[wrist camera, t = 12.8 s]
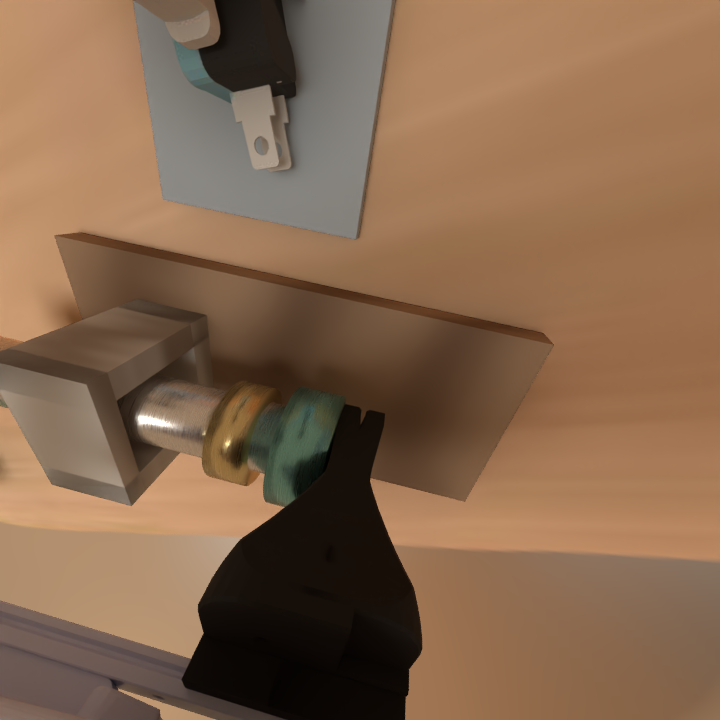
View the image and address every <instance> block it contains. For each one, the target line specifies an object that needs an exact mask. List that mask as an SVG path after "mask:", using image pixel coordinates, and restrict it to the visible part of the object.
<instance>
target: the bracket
mask: <svg viewBox="0 0 720 720" xmlns="http://www.w3.org/2000/svg"><path fill="white" fill-rule="evenodd" d="M54 236H55V239H56V242H57V245H58V248H59V251H60V254H61V257H62V260H63V263H64V266H65V269H66V272H67V275H68V278H69V281H70V284H71V287H72V290H73V293H74V296H75V299H76V302H77V305H78V308H79V311H80V314H81V317H82V320H81V321H79V322H76V323H73V324H71V325H68V326H65V327H63V328H60V329H57V330H55V331H52V332H49V333H47V334H44V335H42V336H39V337H36V338H34V339H31V340H28V341H26V342H23V343H20V344H18V345H15V346H12V347H10V348H7V349H5V350H2V351H0V393H1V395H2V397H3V399H4V400H5V402H6V404H7V406H8V407H9V409H10V411H11V413H12V415H13V416H14V418H15V420H16V422H17V423H18V425H19V427H20V429H21V431H22V432H23V434H24V436H25V438H26V439H27V441H28V443H29V445H30V447H31V448H32V450H33V452H34V454H35V456H36V457H37V459H38V461H39V463H40V464H41V466H42V468H43V470H44V472H45V473H46V475H47V477H48V479H49V480H50V482H51V484H52V485H55V486H59V487H63V488H67V489H70V490H74V491H78V492H81V493H85V494H89V495H93V496H96V497H100V498H104V499H107V500H111V501H115V502H119V503H122V504H126V505H130V506H132V505H133V504H134V503H135V502H136V500H137V499H138V498H139V497H140V496H141V495H142V494H143V493H144V492H145V491H146V489H147V488H148V487H149V486H150V485H151V484H152V483H153V482H154V481H155V480H156V478H157V477H158V476H159V475H160V474H161V473H162V472H163V471H164V470H165V469H166V467H167V466H168V465H169V464H170V463H171V462H172V461H173V460H174V459H175V458H176V456H177V455H178V454H179V453H180V452H177V451H173V450H170V449H166V448H162V447H158V446H154V445H150V444H146V443H142V442H138V441H134V440H131V439H128V436H127V433H126V429H125V426H124V423H123V420H122V417H121V414H120V411H119V407H118V404H117V400H118V399H120V398H121V397H123V396H124V395H126V394H127V393H128V392H130V391H131V390H133V389H134V388H136V387H137V386H139V385H140V384H141V383H143V382H144V381H146V380H147V379H149V378H150V377H152V376H153V375H154V374H159V375H163V376H167V377H171V378H175V379H180V380H184V381H188V382H192V383H196V384H200V385H204V386H208V387H213V388H217V389H221V390H225V391H228V390H229V389H230V388H231V387H232V386H233V385H235V384H236V383H238V382H241V381H247V382H251V383H255V384H260V385H264V386H268V387H272V388H276V389H279V390H280V392H281V395H282V404H283V405H287V403H288V401H289V400H290V398H291V396H292V395H293V393H294V392H295V391H296V389H298V388H299V387H300V386H304V387H308V388H312V389H317V390H321V391H325V392H329V393H333V394H338V395H342V396H346V404H348V405H352V406H357V407H360V409H361V410H362V411H361V423H362V421H363V419H364V417H365V414H366V411H368V410H373V411H377V412H382V413H385V421H384V428H383V431H382V435H381V438H380V442H379V446H378V449H377V453H376V457H375V460H374V464H373V467H372V472H371V477H370V478H373V479H377V480H381V481H385V482H389V483H393V484H397V485H401V486H405V487H409V488H413V489H417V490H421V491H425V492H429V493H433V494H437V495H441V496H445V497H449V498H453V499H457V500H461V501H464V502H465V501H466V499H467V497H468V495H469V494H470V492H471V490H472V488H473V487H474V485H475V483H476V481H477V479H478V478H479V476H480V474H481V472H482V471H483V469H484V467H485V465H486V464H487V462H488V460H489V458H490V457H491V455H492V453H493V451H494V450H495V448H496V446H497V444H498V443H499V441H500V439H501V437H502V435H503V434H504V432H505V430H506V428H507V427H508V425H509V423H510V421H511V420H512V418H513V416H514V414H515V413H516V411H517V409H518V407H519V406H520V404H521V402H522V400H523V399H524V397H525V395H526V393H527V391H528V390H529V388H530V386H531V384H532V383H533V381H534V379H535V377H536V376H537V374H538V372H539V370H540V369H541V367H542V365H543V363H544V362H545V360H546V358H547V356H548V355H549V353H550V351H551V349H552V348H553V346H554V344H553V343H552V342H551V341H550V340H549V339H548V338H547V337H546V336H545V335H544V334H543V333H539V332H535V331H530V330H526V329H521V328H516V327H512V326H507V325H503V324H498V323H493V322H489V321H484V320H480V319H475V318H470V317H466V316H461V315H457V314H452V313H447V312H443V311H438V310H434V309H429V308H424V307H420V306H415V305H411V304H406V303H401V302H397V301H392V300H388V299H383V298H378V297H374V296H369V295H365V294H360V293H355V292H351V291H346V290H342V289H337V288H332V287H328V286H323V285H319V284H314V283H309V282H305V281H300V280H296V279H291V278H286V277H282V276H277V275H273V274H268V273H263V272H259V271H254V270H250V269H245V268H240V267H236V266H231V265H227V264H222V263H217V262H213V261H208V260H204V259H199V258H194V257H190V256H185V255H181V254H176V253H171V252H167V251H162V250H158V249H153V248H148V247H144V246H139V245H135V244H130V243H125V242H121V241H116V240H112V239H107V238H102V237H98V236H93V235H89V234H84V233H72V234H63V235H54Z"/></svg>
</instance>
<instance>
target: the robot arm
mask: <svg viewBox="0 0 720 720" xmlns="http://www.w3.org/2000/svg"><path fill="white" fill-rule="evenodd" d="M361 411H362V410H361V409H360V407H357V406H352V405H348V404H345V405H344V408H343V410H342V412H341V415H340V418H339V420H338V423H337V428H336V433H335V437H334V442H333V446H332V451H331V455H330V459H329V462H328V465H327V468H326V470H325V472H324V473H323V474H322V475H321V476H320V477H319V478H318V479H317V480H316V481H315V482H313V483H312V484H311V485H310V486H309V487H308V488H307V489H306V490H305V491H304V492H303V493H302V494H300V495H299V496H298V497H297V498H296V499H295V500H293V501H292V502H291V503H290V504H288V505H287V506H286V507H285V508H283V509H282V510H281V511H280V512H278V513H277V514H276V515H275V516H273V517H272V518H271V519H269V520H268V521H266V522H265V523H263V524H262V525H261V526H259V527H258V528H256V529H255V530H253V531H252V532H250V533H249V534H248V535H246V536H245V537H243V538H242V539H241V540H240V541H239V542H238V543H237V544H236V545H235V547H234V548H233V549H232V550H231V552H230V553H229V555H228V556H227V557H226V558H225V560H224V561H223V562H222V564H221V565H220V567H219V568H218V570H217V571H216V573H215V574H214V576H213V578H212V579H211V581H210V583H209V585H208V587H207V589H206V591H205V593H204V594H203V596H202V598H201V600H200V602H199V604H198V613H199V617H200V621H201V624H202V629H203V632H204V634H203V636H202V638H201V640H200V642H199V644H198V646H197V648H196V650H195V652H194V654H193V656H192V659H189V658H186V657H183V656H180V655H176V654H173V653H170V652H167V651H163V650H160V649H157V648H154V647H150V646H147V645H144V644H140V643H137V642H134V641H130V640H127V639H124V638H121V637H117V636H114V635H111V634H108V633H105V632H101V631H98V630H95V629H92V628H88V627H85V626H81V625H78V624H75V623H72V622H69V621H65V620H62V619H59V618H56V617H52V616H49V615H46V614H42V613H39V612H36V611H33V610H29V609H26V608H23V607H19V606H16V605H13V604H10V603H7V602H3V601H0V720H162V718H161V717H160V710H159V709H157V708H155V707H153V706H151V705H148V704H146V703H144V702H142V701H140V700H137V699H135V698H133V697H131V696H128V695H126V694H124V693H122V692H120V691H118V688H119V689H122V690H125V691H128V692H131V693H135V694H138V695H141V696H144V697H147V698H150V699H153V700H157V701H160V702H163V703H166V704H169V705H172V706H176V707H179V708H182V709H185V710H188V711H191V712H195V713H198V714H201V715H204V716H207V717H210V718H213V719H216V720H405V699H406V696H407V695H408V691H409V669H410V667H411V666H412V665H413V663H414V662H415V661H416V660H417V658H418V657H419V655H420V653H421V651H422V633H421V623H420V617H419V611H418V605H417V601H416V596H415V591H414V587H413V585H412V583H411V581H410V579H409V577H408V576H407V573H406V572H405V569H404V568H403V565H402V563H401V561H400V559H399V557H398V555H397V553H396V551H395V548H394V546H393V544H392V542H391V539H390V537H389V535H388V532H387V530H386V527H385V525H384V522H383V519H382V517H381V514H380V512H379V509H378V506H377V503H376V500H375V497H374V494H373V491H372V487H371V484H370V477H371V472H372V467H373V464H374V460H375V457H376V453H377V449H378V446H379V442H380V438H381V435H382V431H383V428H384V421H385V413H382V412H377V411H373V410H368V411H366V414H365V417H364V419H363V421H362V423H361Z"/></svg>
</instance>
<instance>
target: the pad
mask: <svg viewBox="0 0 720 720" xmlns="http://www.w3.org/2000/svg"><path fill="white" fill-rule="evenodd" d="M281 1H282V7H283V13H284V19H285V25H286V31H287V36H288V38H289V41H290V44H291V47H292V51H293V56H294V62H295V68H296V81H295V85H296V96H295V97H291V98H286V99H285V103H286V108H287V114H288V119H289V123H284V126H285V131H286V136H287V141H288V147H289V152H290V157H291V163H292V166H291V168H290V169H287V170H281V171H275V172H270V171H268V170H267V169H261V170H256V169H255V168H254V167H253V166H252V162H251V158H250V154H249V150H248V146H247V141H246V137H245V133H244V129H243V125H242V122H240V123H237V122H236V119H235V115H234V111H233V107H232V104H231V103H229V102H227V101H225V100H223V99H221V98H219V97H217V96H214V95H212V94H210V93H208V92H206V91H203V90H200V89H198V88H196V87H194V86H193V85H192V84H191V83H190V82H189V81H188V80H187V78H186V77H185V75H184V73H183V72H182V69H181V67H180V64H179V62H178V59H177V55H176V52H175V48H174V45H173V42H172V40H173V38H172V37H171V35H170V33H169V31H168V29H167V27H166V24H165V22H164V21H163V20H162V19H160V18H159V17H157V16H156V15H154V14H153V13H151V12H150V11H148V10H147V9H146V8H144V7H143V6H141V5H140V4H138V3H137V2H135V1H134V0H133V3H134V10H135V17H136V23H137V30H138V37H139V43H140V50H141V57H142V63H143V70H144V77H145V83H146V90H147V96H148V103H149V110H150V116H151V123H152V130H153V136H154V143H155V150H156V156H157V163H158V170H159V176H160V183H161V190H162V196H163V200H167V201H172V202H177V203H181V204H186V205H191V206H196V207H201V208H205V209H210V210H215V211H220V212H225V213H230V214H234V215H239V216H244V217H249V218H254V219H259V220H263V221H268V222H273V223H278V224H283V225H288V226H292V227H297V228H302V229H307V230H312V231H316V232H321V233H326V234H331V235H336V236H341V237H345V238H350V239H355V240H356V239H357V238H359V232H360V226H361V220H362V213H363V207H364V200H365V194H366V187H367V181H368V175H369V168H370V162H371V155H372V149H373V142H374V136H375V130H376V123H377V117H378V110H379V104H380V98H381V91H382V85H383V78H384V72H385V65H386V59H387V53H388V46H389V40H390V33H391V27H392V20H393V14H394V8H395V1H396V0H281ZM255 144H256V150H257V152H258V153H259V154H260V155H264V154H263V150H262V145H261V141H260V137H259V138H258V139H257V140H256V143H255ZM276 145H277V150H278V155H279V158H280V157H281V155H282V148H281V145H280V144H279V143H277V142H276Z"/></svg>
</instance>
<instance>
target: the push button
mask: <svg viewBox="0 0 720 720" xmlns="http://www.w3.org/2000/svg"><path fill="white" fill-rule="evenodd" d="M134 1H135V2H137V3H138V4H140V5H141V6H143V7H144V8H146V9H147V10H148V11H150V12H151V13H153V14H154V15H156V16H157V17H159V18H160V19H162V20H163V21H164V22H165V24H166V27H167V29H168V31H169V33H170V35H171V37H172V38H173V40H172V42H173V45H174V48H175V52H176V55H177V59H178V62H179V64H180V67H181V69H182V72H183V73H184V75H185V77H186V78H187V80H188V81H189V82H190V83H191V84H192V85H193V86H194V87H196V88H198V89H200V90H203V91H206V92H208V93H210V94H212V95H214V96H217V97H219V98H221V99H223V100H225V101H227V102H229V103H231V104H232V107H233V111H234V115H235V119H236V122H237V123H240V122H242V125H243V129H244V133H245V137H246V141H247V146H248V150H249V154H250V158H251V162H252V166H253V167H254V168H255V169H256V170H261V169H267V170H268V171H270V172H275V171H281V170H287V169H290V168H291V166H292V163H291V157H290V152H289V147H288V141H287V136H286V131H285V126H284V123H289V119H288V114H287V108H286V103H285V99H286V98H291V97H295V96H296V85H295V81H296V68H295V62H294V56H293V51H292V47H291V44H290V41H289V38H288V36H287V31H286V25H285V19H284V13H283V7H282V1H281V0H134ZM259 137H260V141H261V145H262V150H263V154H264V155H260V154H259V153H258V152H257V150H256V144H255V143H256V140H257V139H258V138H259ZM276 142H277V143H279V144H280V145H281V148H282V155H281V157H280V158H279V155H278V150H277V145H276Z"/></svg>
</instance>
